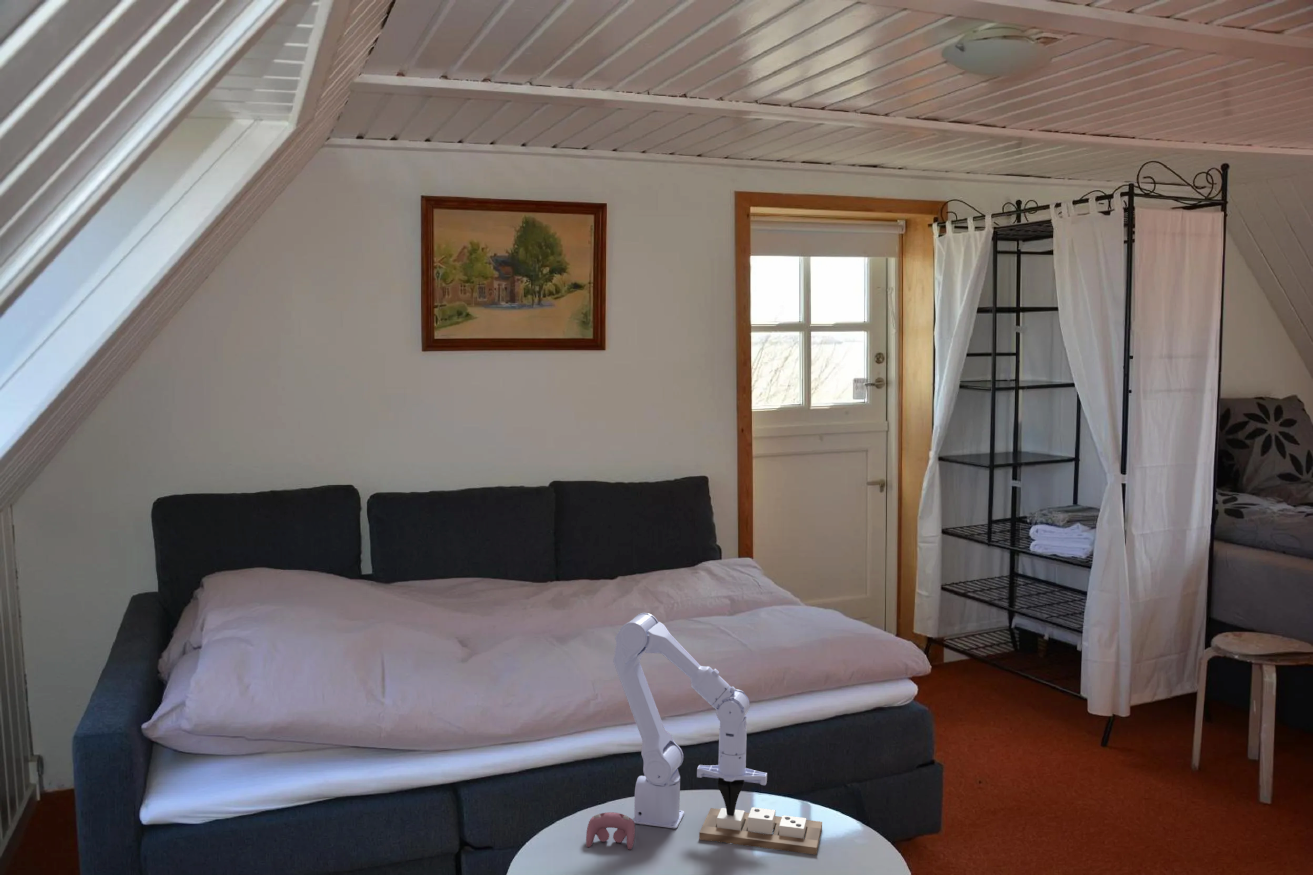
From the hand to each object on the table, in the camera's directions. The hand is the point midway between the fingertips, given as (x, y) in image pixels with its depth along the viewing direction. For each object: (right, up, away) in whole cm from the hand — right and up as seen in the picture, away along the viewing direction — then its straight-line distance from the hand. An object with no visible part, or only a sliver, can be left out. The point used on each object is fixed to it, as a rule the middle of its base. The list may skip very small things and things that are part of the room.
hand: (730, 812), depth 222 cm
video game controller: (-25, -4, -6) cm, 26 cm away
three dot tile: (+13, -4, -3) cm, 13 cm away
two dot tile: (+6, -3, -1) cm, 7 cm away
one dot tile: (0, -3, 0) cm, 3 cm away
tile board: (+6, -4, -1) cm, 7 cm away
